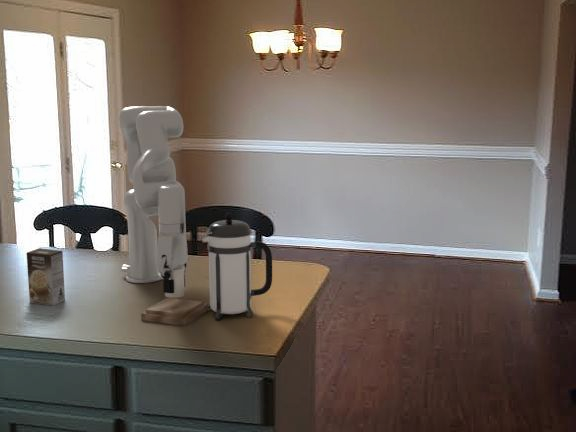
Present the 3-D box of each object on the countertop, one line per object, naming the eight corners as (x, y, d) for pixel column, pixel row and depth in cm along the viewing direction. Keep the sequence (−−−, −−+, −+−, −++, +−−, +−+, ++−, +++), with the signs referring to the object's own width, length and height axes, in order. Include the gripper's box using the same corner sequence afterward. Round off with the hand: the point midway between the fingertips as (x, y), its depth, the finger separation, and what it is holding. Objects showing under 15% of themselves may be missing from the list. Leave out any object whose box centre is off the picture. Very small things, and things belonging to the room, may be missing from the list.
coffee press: (238, 325, 193) (237, 219, 187) (194, 315, 201) (191, 214, 196) (273, 309, 207) (273, 210, 202) (231, 300, 216) (229, 205, 210)
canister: (161, 296, 199) (160, 266, 198) (171, 291, 204) (170, 262, 203) (178, 298, 197) (177, 268, 196) (188, 293, 202) (187, 263, 201)
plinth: (141, 320, 198) (140, 310, 197) (166, 305, 211) (166, 296, 210) (184, 325, 193) (184, 315, 192) (207, 310, 206) (207, 301, 205)
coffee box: (28, 303, 214) (24, 252, 211) (42, 297, 220) (38, 247, 217) (53, 306, 211) (49, 254, 208) (66, 300, 217) (63, 250, 214)
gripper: (176, 222, 206) (178, 281, 210) (144, 233, 191) (147, 296, 194) (198, 223, 204) (200, 283, 207) (168, 235, 188) (170, 299, 191)
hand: (174, 289), depth 200 cm, fingers closed on canister, 5 cm apart
